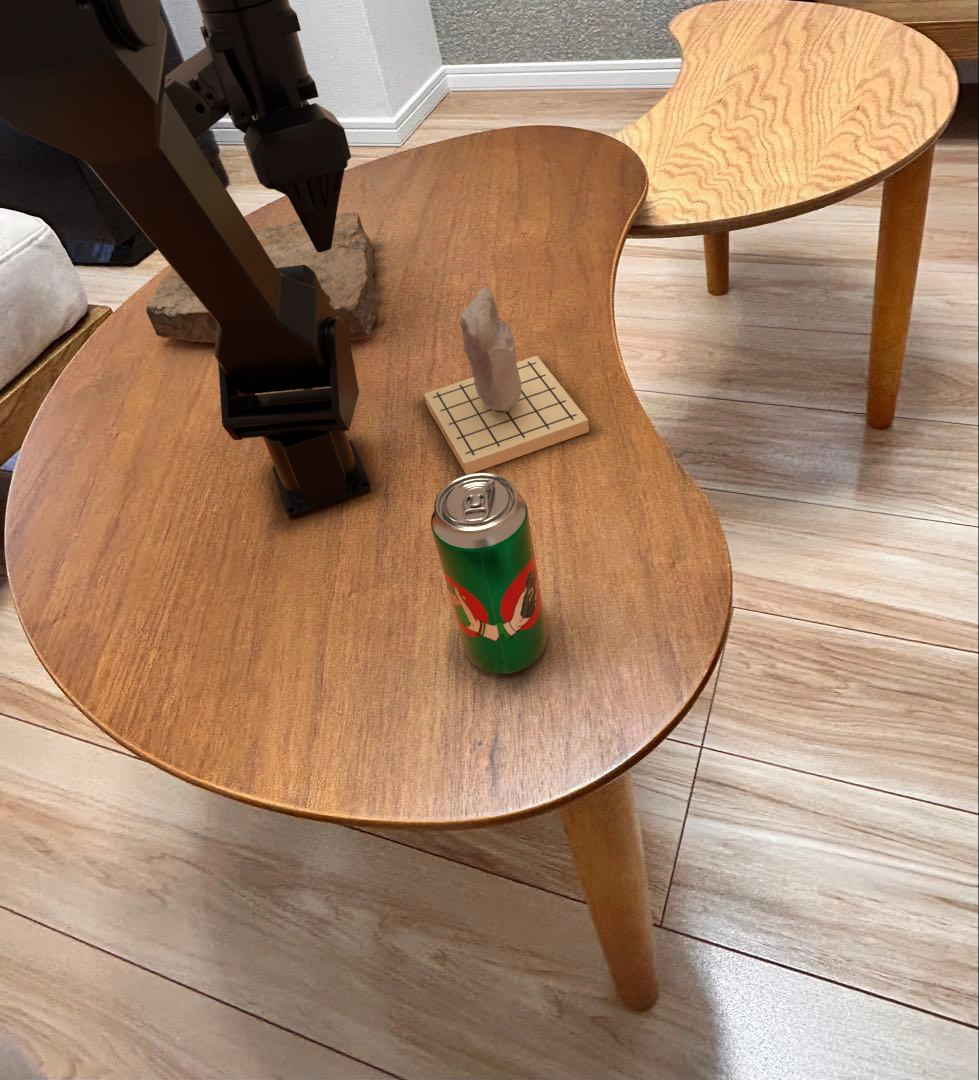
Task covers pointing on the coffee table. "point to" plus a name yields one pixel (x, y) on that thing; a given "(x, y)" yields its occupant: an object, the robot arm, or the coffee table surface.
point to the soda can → (490, 571)
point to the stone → (288, 245)
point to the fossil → (491, 353)
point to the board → (505, 419)
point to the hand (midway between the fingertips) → (311, 226)
